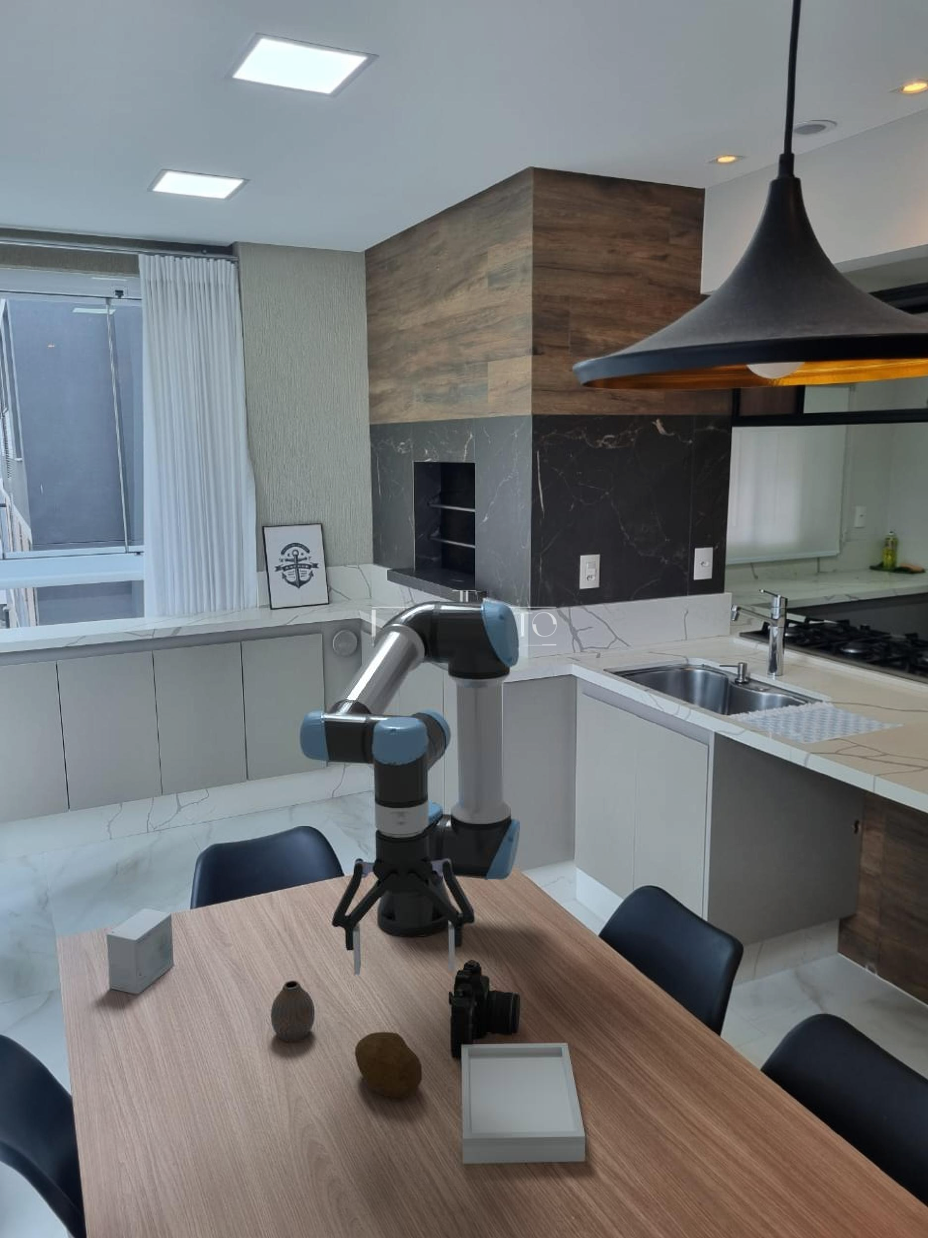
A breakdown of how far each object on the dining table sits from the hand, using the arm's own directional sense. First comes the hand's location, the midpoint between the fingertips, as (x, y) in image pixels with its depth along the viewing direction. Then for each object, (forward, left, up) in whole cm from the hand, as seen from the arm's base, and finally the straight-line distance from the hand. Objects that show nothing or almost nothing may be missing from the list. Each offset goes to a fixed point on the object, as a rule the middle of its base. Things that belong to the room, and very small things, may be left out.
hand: (404, 968), depth 137 cm
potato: (0, -3, -19) cm, 19 cm away
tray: (+6, +16, -19) cm, 25 cm away
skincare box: (-31, -49, -19) cm, 61 cm away
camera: (-12, +12, -19) cm, 25 cm away
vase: (-13, -19, -19) cm, 30 cm away
